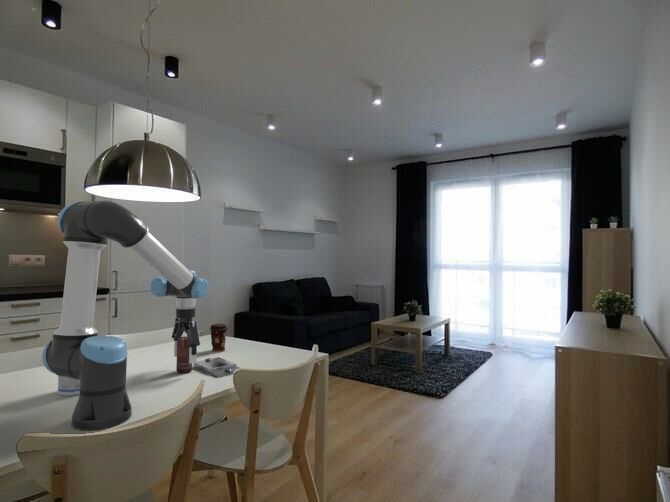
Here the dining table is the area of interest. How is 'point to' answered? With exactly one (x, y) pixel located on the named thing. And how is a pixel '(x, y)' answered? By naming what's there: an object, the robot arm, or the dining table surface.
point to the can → (183, 356)
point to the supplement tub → (68, 386)
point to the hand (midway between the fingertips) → (184, 359)
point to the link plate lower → (221, 372)
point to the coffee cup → (218, 337)
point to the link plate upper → (213, 361)
